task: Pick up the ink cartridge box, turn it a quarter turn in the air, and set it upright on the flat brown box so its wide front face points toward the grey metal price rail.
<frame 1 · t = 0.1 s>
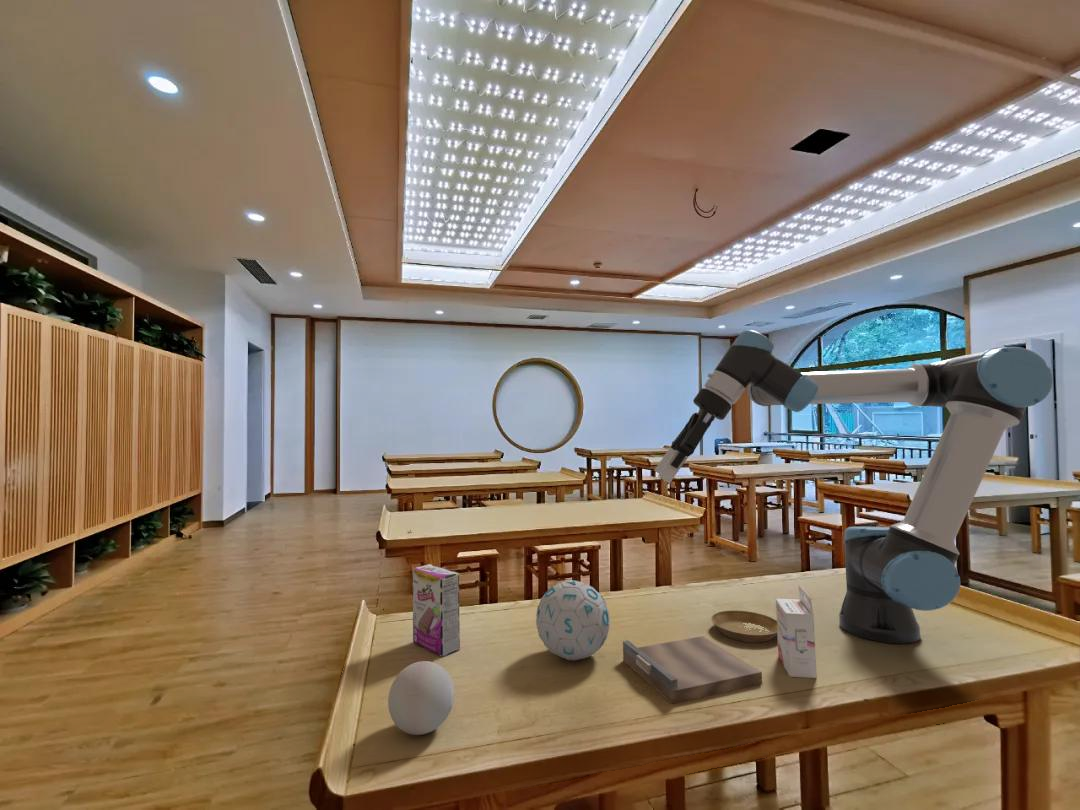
hand: (661, 476, 110), 36 cm above the table, tool tilted 35°, fingers open, 13 cm apart
grey sphere: (421, 730, 79), on the table
plant saucer: (746, 634, 114), on the table
candy bar box: (435, 647, 109), on the table
flat brown box: (689, 671, 96), on the table
ink cartridge box: (796, 668, 97), on the table
puzzle ball: (573, 657, 104), on the table
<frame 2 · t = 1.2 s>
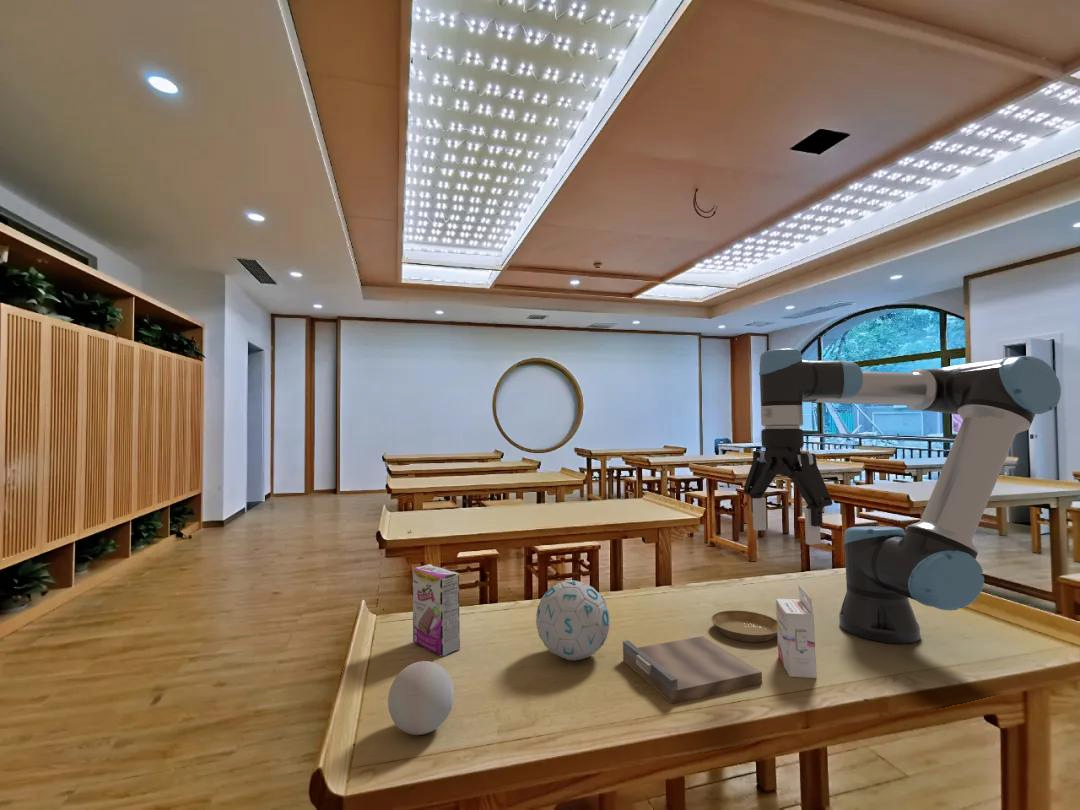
hand: (784, 536, 99), 25 cm above the table, tool pointing down, fingers open, 13 cm apart
nothing on the table moved.
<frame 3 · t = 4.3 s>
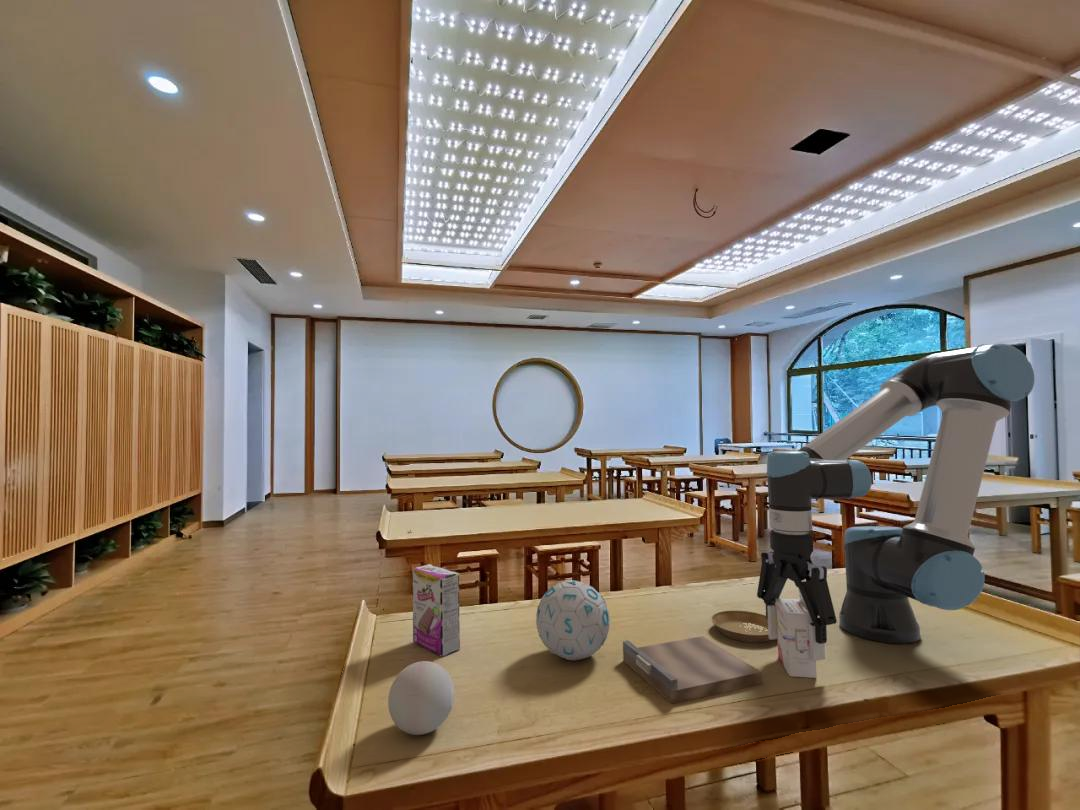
hand: (795, 648, 97), 4 cm above the table, tool pointing down, fingers closed on ink cartridge box, 9 cm apart
ink cartridge box: (796, 668, 97), on the table, touching gripper
everything else where it was.
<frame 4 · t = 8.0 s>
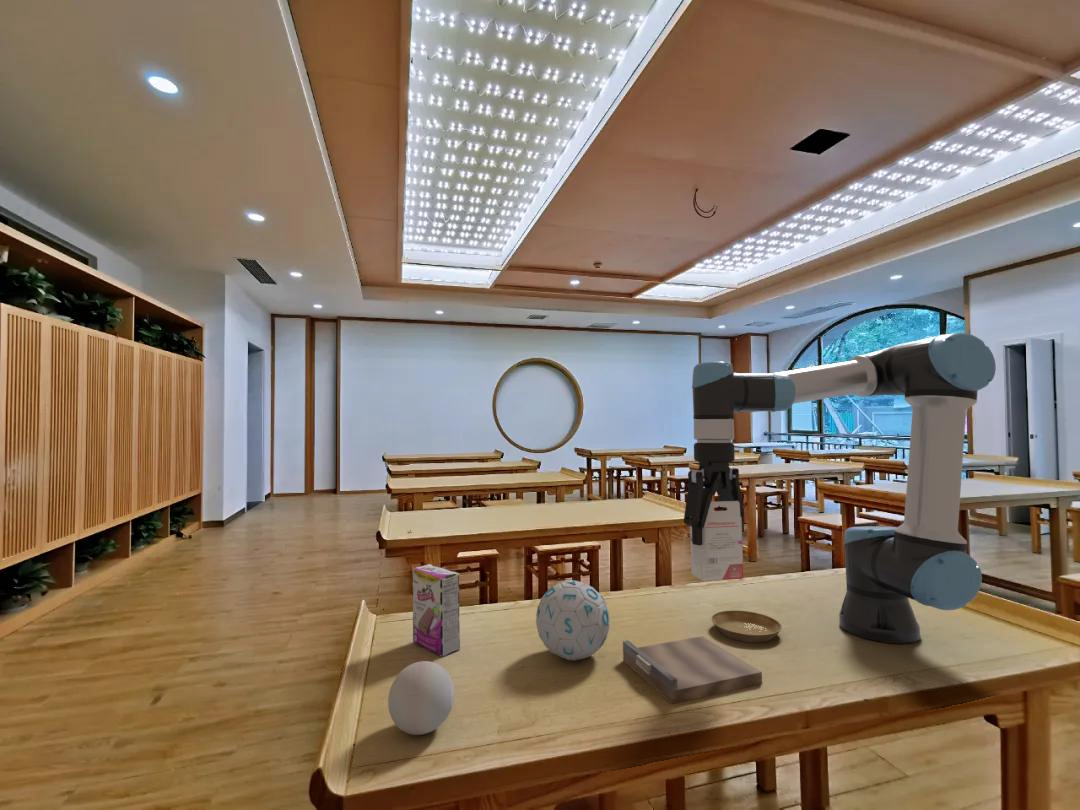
hand: (716, 557, 97), 21 cm above the table, tool pointing down, fingers closed on ink cartridge box, 9 cm apart
ink cartridge box: (716, 577, 97), point 17 cm above the table, touching gripper
everything else where it was.
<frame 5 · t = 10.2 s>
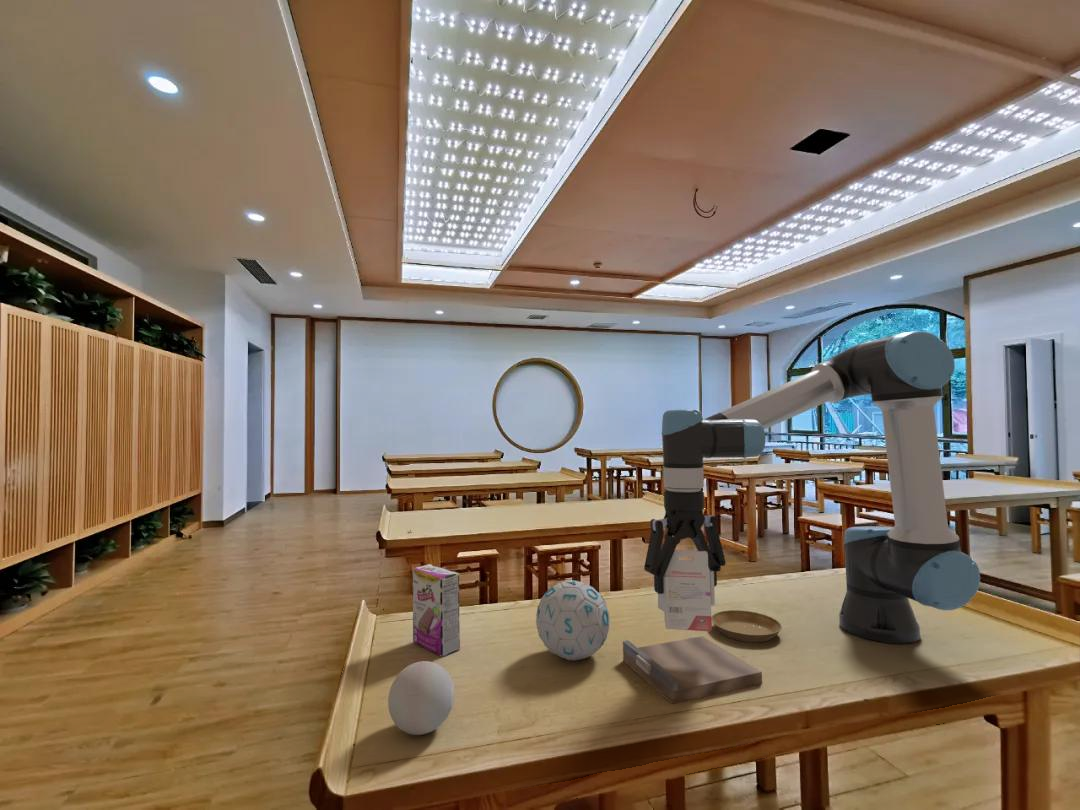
hand: (686, 606, 97), 12 cm above the table, tool pointing down, fingers closed on ink cartridge box, 9 cm apart
ink cartridge box: (687, 626, 97), point 8 cm above the table, touching gripper
everything else where it was.
when the fingers open (7 cm above the table, at t = 12.1 s): ink cartridge box drops 1 cm, resting on flat brown box.
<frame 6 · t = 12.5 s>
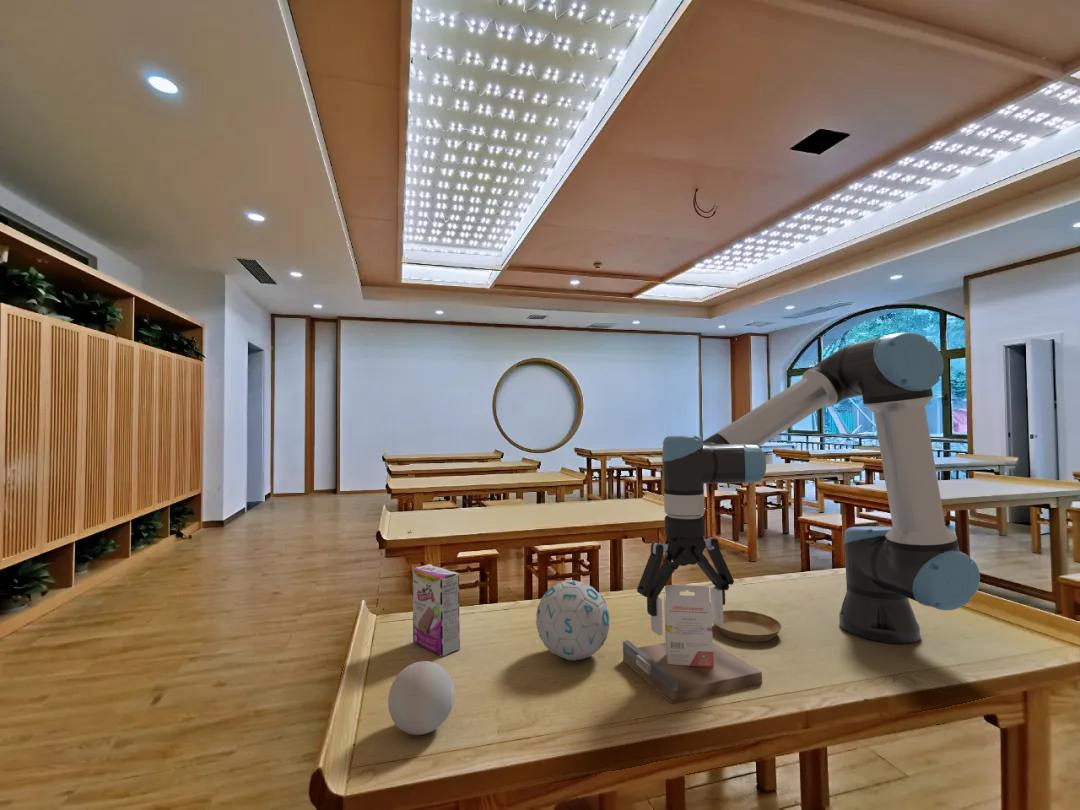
hand: (687, 627, 97), 8 cm above the table, tool pointing down, fingers open, 13 cm apart
ink cartridge box: (688, 661, 96), point 2 cm above the table, touching flat brown box
everything else where it was.
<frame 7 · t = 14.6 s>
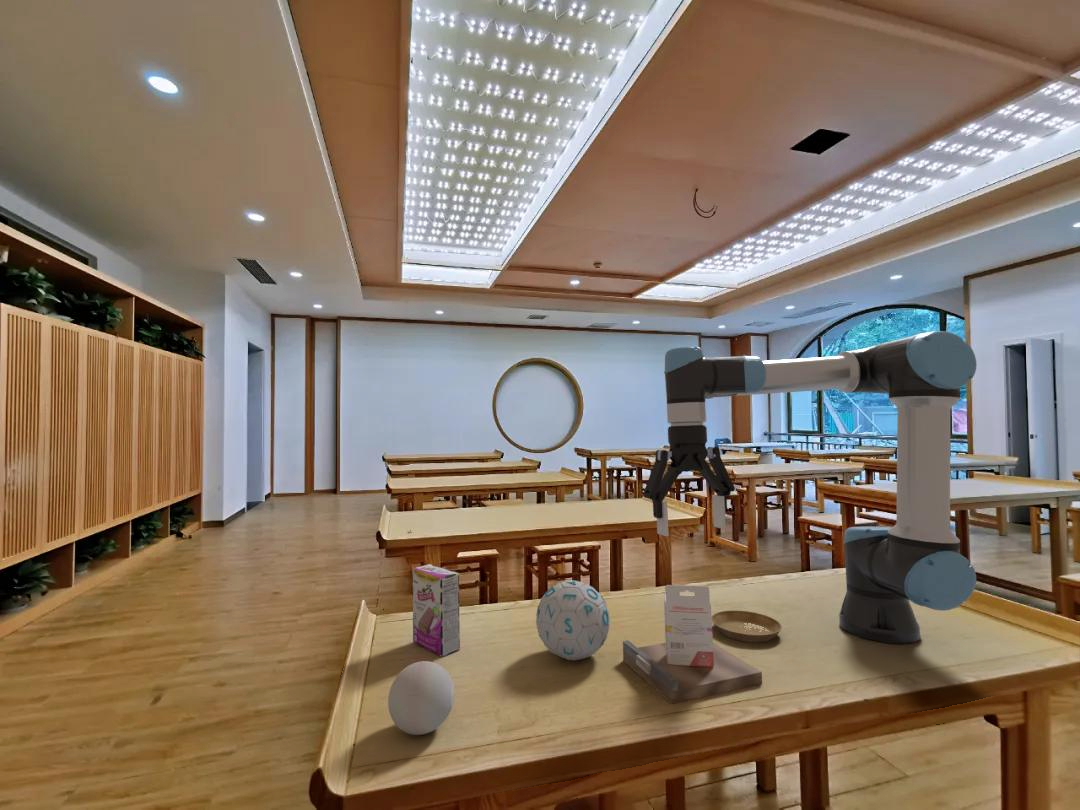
hand: (692, 531, 101), 26 cm above the table, tool pointing down, fingers open, 13 cm apart
nothing on the table moved.
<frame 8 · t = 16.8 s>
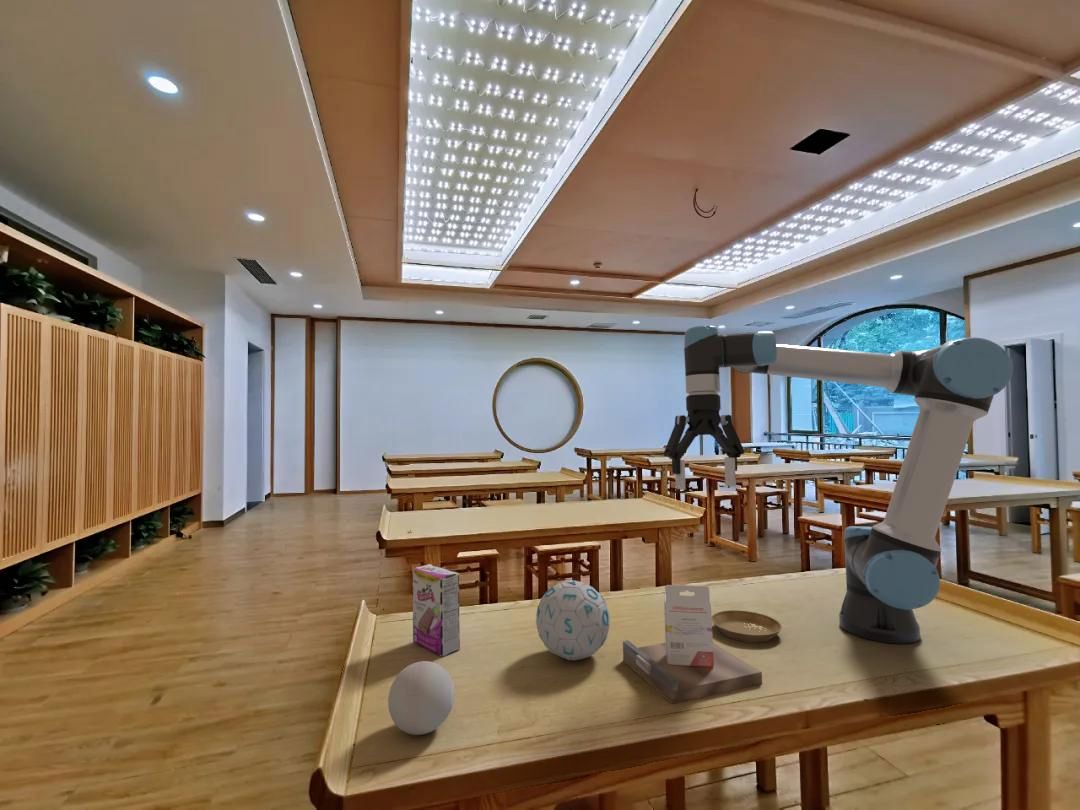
hand: (705, 487, 115), 33 cm above the table, tool pointing down, fingers open, 13 cm apart
nothing on the table moved.
at the end: ink cartridge box inside the target area (0.0 cm from its centre), point 1.8 cm above the table; ink cartridge box tilted 0°; the gripper is holding nothing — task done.
